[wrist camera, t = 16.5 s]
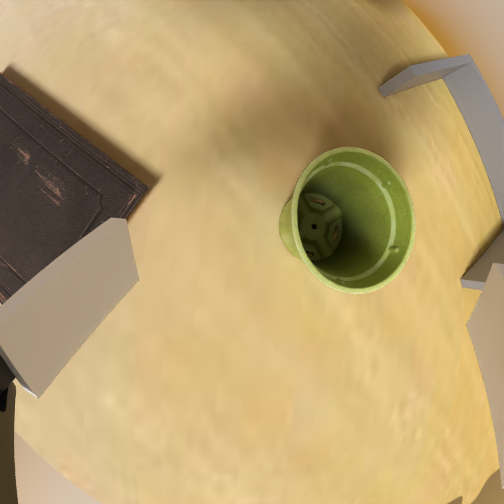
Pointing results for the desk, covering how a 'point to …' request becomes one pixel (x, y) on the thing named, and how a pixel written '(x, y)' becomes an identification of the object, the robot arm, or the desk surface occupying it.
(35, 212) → the hardcover book
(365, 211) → the plant pot
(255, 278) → the desk surface
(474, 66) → the open-front box
